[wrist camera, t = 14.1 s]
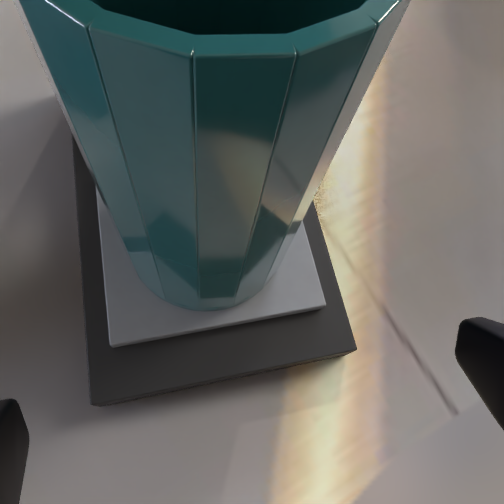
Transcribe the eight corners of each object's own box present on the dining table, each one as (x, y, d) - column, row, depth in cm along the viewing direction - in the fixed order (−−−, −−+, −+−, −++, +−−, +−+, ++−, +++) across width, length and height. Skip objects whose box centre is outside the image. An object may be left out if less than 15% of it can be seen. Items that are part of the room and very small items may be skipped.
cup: (311, 265, 18) (513, -26, 6) (172, 342, 17) (94, 130, 5) (234, 150, 20) (281, -241, 8) (101, 207, 18) (-86, -194, 6)
